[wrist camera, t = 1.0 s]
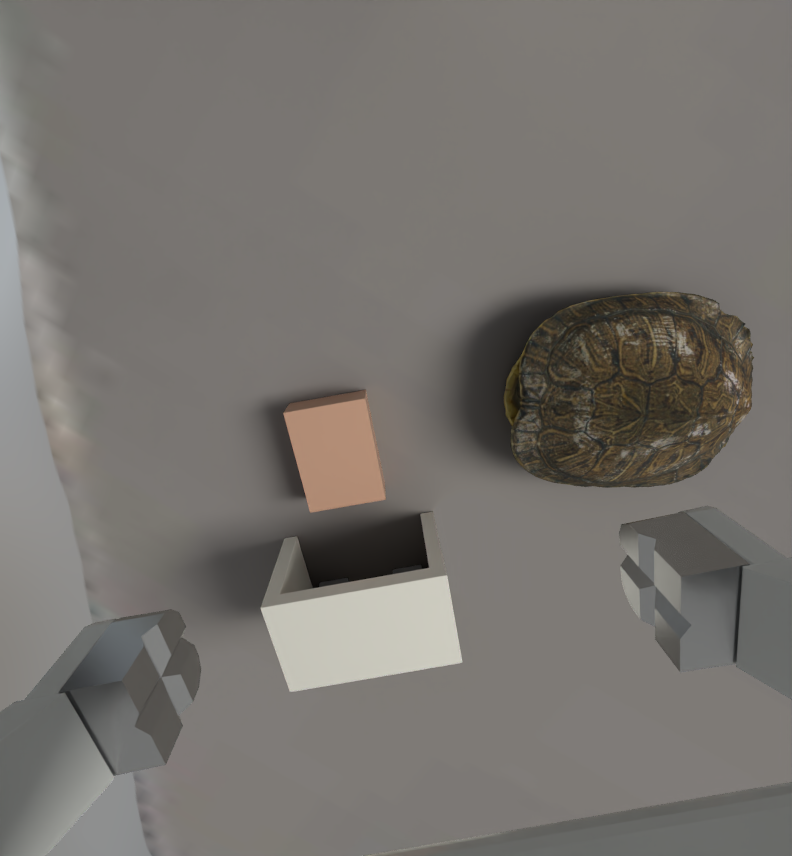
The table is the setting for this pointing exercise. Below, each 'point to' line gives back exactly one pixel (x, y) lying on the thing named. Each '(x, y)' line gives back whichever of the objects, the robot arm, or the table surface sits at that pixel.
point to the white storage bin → (360, 620)
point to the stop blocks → (348, 580)
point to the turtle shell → (629, 390)
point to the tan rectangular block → (336, 450)
